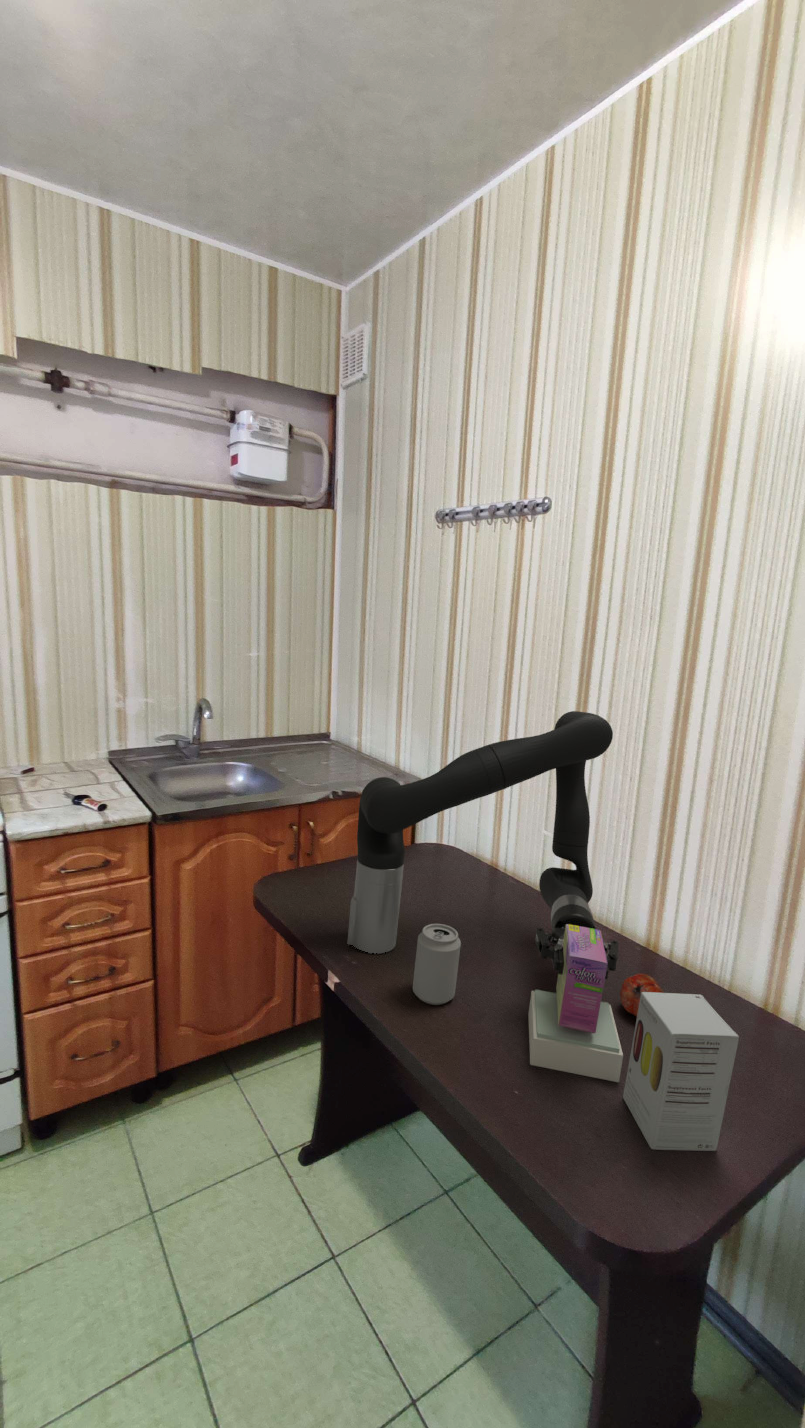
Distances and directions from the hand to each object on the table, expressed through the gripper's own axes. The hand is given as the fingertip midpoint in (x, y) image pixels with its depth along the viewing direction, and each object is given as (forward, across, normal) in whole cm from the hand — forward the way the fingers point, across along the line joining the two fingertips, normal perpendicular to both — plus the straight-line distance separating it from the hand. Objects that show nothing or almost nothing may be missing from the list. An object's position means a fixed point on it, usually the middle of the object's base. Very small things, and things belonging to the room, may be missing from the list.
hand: (581, 972), depth 101 cm
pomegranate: (-13, +13, +13) cm, 23 cm away
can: (-7, -23, +13) cm, 28 cm away
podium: (0, 0, +13) cm, 13 cm away
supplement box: (+13, +12, +13) cm, 22 cm away
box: (0, 0, +7) cm, 7 cm away
